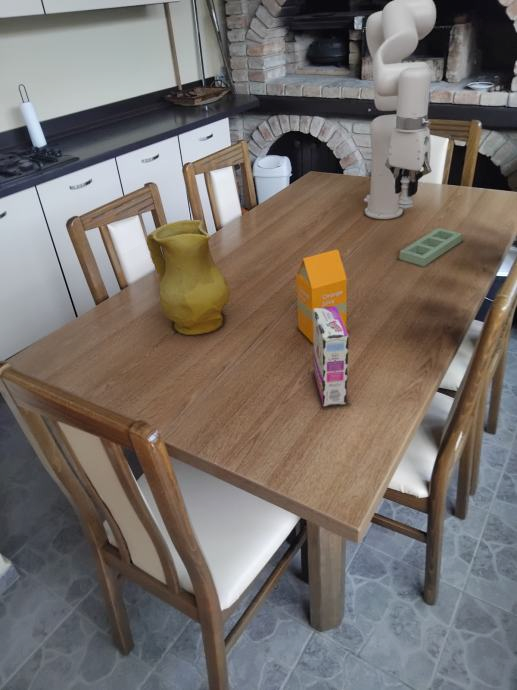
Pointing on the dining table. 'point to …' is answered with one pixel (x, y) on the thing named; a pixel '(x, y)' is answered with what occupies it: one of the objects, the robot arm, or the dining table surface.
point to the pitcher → (188, 277)
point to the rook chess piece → (405, 194)
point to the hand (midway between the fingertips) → (405, 193)
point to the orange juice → (320, 288)
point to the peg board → (430, 246)
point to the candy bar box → (330, 355)
